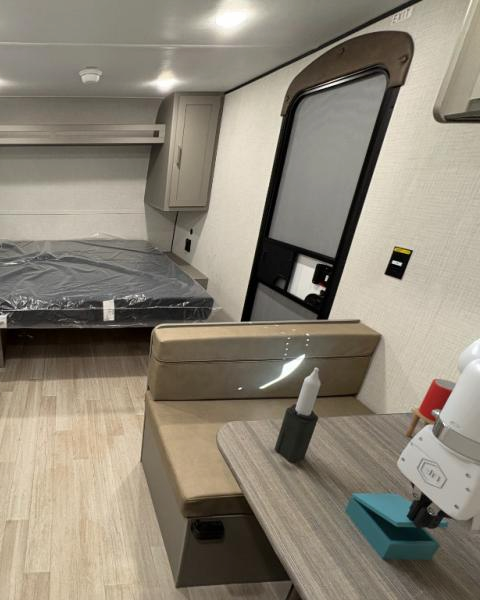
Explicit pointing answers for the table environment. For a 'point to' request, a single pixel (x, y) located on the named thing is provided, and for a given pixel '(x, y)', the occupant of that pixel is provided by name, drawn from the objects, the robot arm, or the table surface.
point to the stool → (416, 420)
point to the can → (436, 397)
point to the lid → (389, 508)
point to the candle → (299, 422)
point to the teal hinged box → (391, 535)
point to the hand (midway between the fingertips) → (420, 522)
